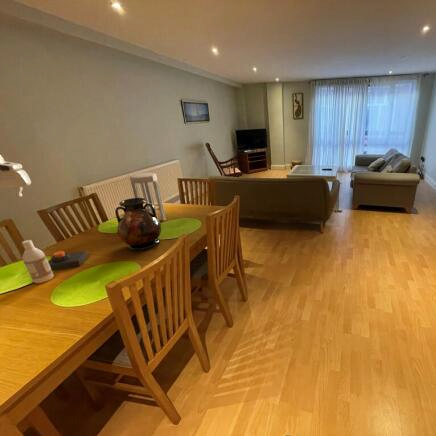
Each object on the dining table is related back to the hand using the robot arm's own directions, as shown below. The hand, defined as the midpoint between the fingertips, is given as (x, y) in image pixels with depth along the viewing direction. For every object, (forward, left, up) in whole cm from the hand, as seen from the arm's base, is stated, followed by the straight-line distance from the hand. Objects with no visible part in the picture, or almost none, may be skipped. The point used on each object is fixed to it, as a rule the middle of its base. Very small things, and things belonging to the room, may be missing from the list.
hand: (5, 197), depth 107 cm
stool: (+46, +46, -37) cm, 75 cm away
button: (+10, 0, -32) cm, 34 cm away
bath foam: (+8, -13, -37) cm, 40 cm away
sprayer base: (+12, 0, -37) cm, 39 cm away
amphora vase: (+46, +8, -37) cm, 60 cm away
